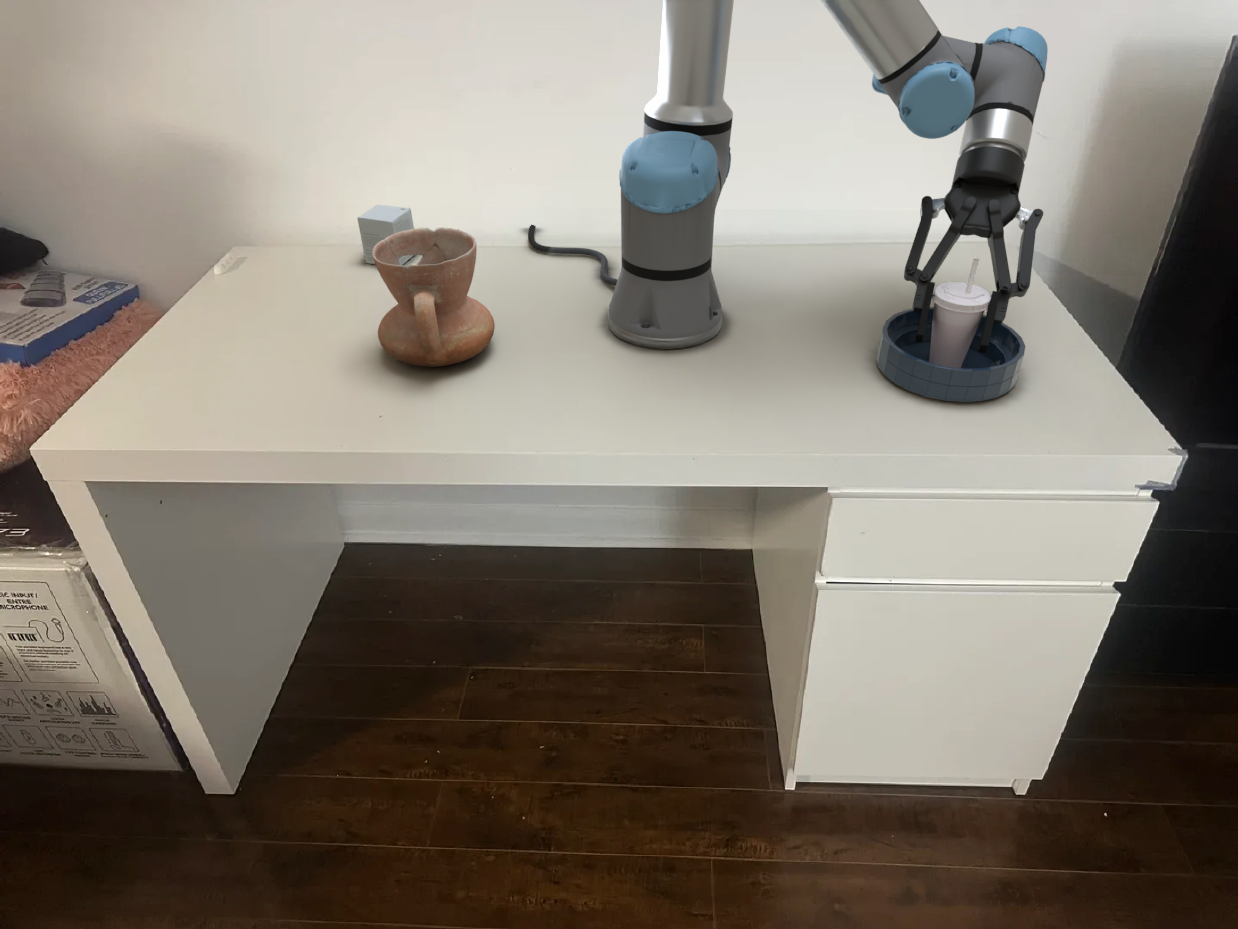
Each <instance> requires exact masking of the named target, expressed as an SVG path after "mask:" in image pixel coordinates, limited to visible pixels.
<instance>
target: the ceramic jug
mask: <svg viewBox="0 0 1238 929" xmlns="http://www.w3.org/2000/svg"><path fill="white" fill-rule="evenodd" d="M477 245H478V244H477V241H476V238H475V237H474V236H473V235H472V234H470V233H468V232H465V231H463V230H460V229H456V228H451V227H436V228H435V229H431V228H429V227H417V228H414V229H411V230H405V231H401V232H398V233H395V234H393V235H390V236H388V237H387V238H385V239H384V240H381V241H380V242H379V243H377V244H376V245H375V247H374V249H373V252H372V255H373V259H374V262H375V264H374V265H375V267H376V269H377V272H378V273H379V275H380V278H381V279H382V281H383V283H384V285H385V286H386V287H387V289H388V291H389V292H390V294H391V296H392V297H393V299H394V300H395V301H396V302H397V304H396V305H395V306H393V307H392V308H390V309H389V310H388V311H387V312H386V313H385V315H384V316H382V318H381V320H380V322H379V324H378V328H377V338H378V341H379V343H380V346H381V348H382V349H383V350H384V351H385V353H387V355H388V356H390V357H392V358H393V359H395V360H396V361H399V362H401V363H405V364H409V365H412V366H417V367H427V368H428V367H429V368H430V367H432V368H435V367H443V366H444V367H445V366H450V365H454V364H459V363H462V362H465V361H467V360H470V359H471V358H474V357H475V356H477V355H479V354H480V353H481V352H482V351H484V350H485V349H486V348H487V347H488V345H489V344H490V343H491V341H492V339H493V336H494V334H495V320H494V317H493V315H492V313H491V311H490V310H489V309H488V307H487V306H486V305H484V304H483V303H482V302H481V301H479V300H477V299H475V298H472V297H470V296H468V294H469V291H470V288H471V285H472V281H473V278H474V274H475V268H476V261H477V250H478V248H477ZM406 255H414V256H418V255H419V256H421V257H420V259H419V261H417V263H416V264H410V265H409V264H408V265H404V264H403V265H400V264H399V262H398V259H399V258H401V257H402V256H406Z"/></svg>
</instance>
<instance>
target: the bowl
mask: <svg viewBox="0 0 1238 929" xmlns="http://www.w3.org/2000/svg"><path fill="white" fill-rule="evenodd" d="M933 311H934V306H930V309H929V313H928V318H927V322H926V326H925V331H924V335H923V340H922V343H920V342H915V340H916V336H917V331H918V327H919V322H920V318H921V313H919V312H913V308H908V309H904V310H901V311H899V312H897V313H894V314H892V315H890V317H888V318H887V319H886V320H885V321H884V322H883V326H882V327H881V333H880V338H879V342H878V348H877V354H876V362H877V366H878V368H879V369H880V371H881V373H882V374H883V376H884V377H886V378H887V379H888V380H890V381H891V382H892V383H894V384H895V385H897V386H898V387H901V388H903V389H904V390H907V391H909V392H911V393H913V394H917V395H919V396H922V397H926V398H931V399H936V400H940V401H949V402H959V403H960V402H961V403H969V402H982V401H983V402H984V401H987V400H992V399H996V398H999V397H1001V396H1002V395H1005V394H1006V393H1008V392H1010V390H1012V388H1013V387H1014V386H1015V385H1016V382H1017V380H1018V377H1019V373H1020V370H1021V367H1022V363H1023V360H1024V359H1023V358H1024V356H1025V352H1026V344H1025V341H1024V340H1023V339H1024V338H1023V337H1022V336H1021V335H1020V334H1019V333H1018V332H1017V331H1016V330H1015V329H1014V328H1012V327H1011V326H1009V325H1008V324H1006V323H1004V321H1003V322H1002V324H1001V325H997V324H993V327H992V332H991V336H990V341H989V346H988V348H987V350H986V352H985V353H982V352H978V351H979V346H980V342H981V337H982V332H983V328H984V323H985V318H986V314H983V316H982V318H981V321H980V323H979V325H978V328H977V330H976V332H975V335H974V337H973V340H972V342H971V344H970V347H969V349H968V352H967V354H966V356H965V359H964V361H963V364H962V366H961V368H954V367H948V366H943V365H938V364H933V363H930V362H929V356H930V345H931V334H932V323H933Z"/></svg>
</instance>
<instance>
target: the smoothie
mask: <svg viewBox="0 0 1238 929" xmlns="http://www.w3.org/2000/svg"><path fill="white" fill-rule="evenodd" d="M979 260H980V257H978V256H974V257H973V260H972V263H971V268H970V272H969V276H968V280H967V282H963V281H962V282H960V281H948V282H944V283H939V284H938V285H937V286H935V287H934V291H933V295H932V301H933V303H934V304H933V307H934V311H933V323H932V334H931V345H930V356H929V362H930V363H933V364H938V365H943V366H948V367H954V368H961V366H962V364H963V361H964V359H965V356H966V354H967V352H968V349H969V347H970V344H971V342H972V340H973V337H974V335H975V332H976V330H977V328H978V325H979V323H980V321H981V318H982V316H983V315H984V313H985V311H987V309H988V307H989V305H990V300H991V295H992V294H991V293H990V292H989V291H988V290H986V289H985V288H983V287H982V286H979V285H976V284H974V280H975V276H976V273H977V269H978V265H979Z"/></svg>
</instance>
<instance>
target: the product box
mask: <svg viewBox="0 0 1238 929" xmlns="http://www.w3.org/2000/svg"><path fill="white" fill-rule="evenodd" d="M357 224H358V228H359V235H360V239H361V245H362V250H363V256H364V261H365V263H366V264H368V265H369V264H370V265H376V264H375V262H374V259H373V255H372V252H373V249H374V247H375V245H376V244H377V243H379V242H380V241H381V240H384V239H385V238H387V237H388V236H390V235H393V234H395V233H398V232H401V231H405V230H411V229H415V226H414V220H413V214H412V209H411V208H410V207H403V206H394V205H385V204H376V205H374V206H373V207H372V208H369V209H368V210H367V211H365V212H364V213H363V214H361V215H359V216H358V217H357ZM414 256H415V255H406V256H402V257H401V258H399V259H398V262H399V264H400V265H403V266H404V264H405V263H407V262H408V261H409V260H410V259H411V258H413V257H414Z"/></svg>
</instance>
